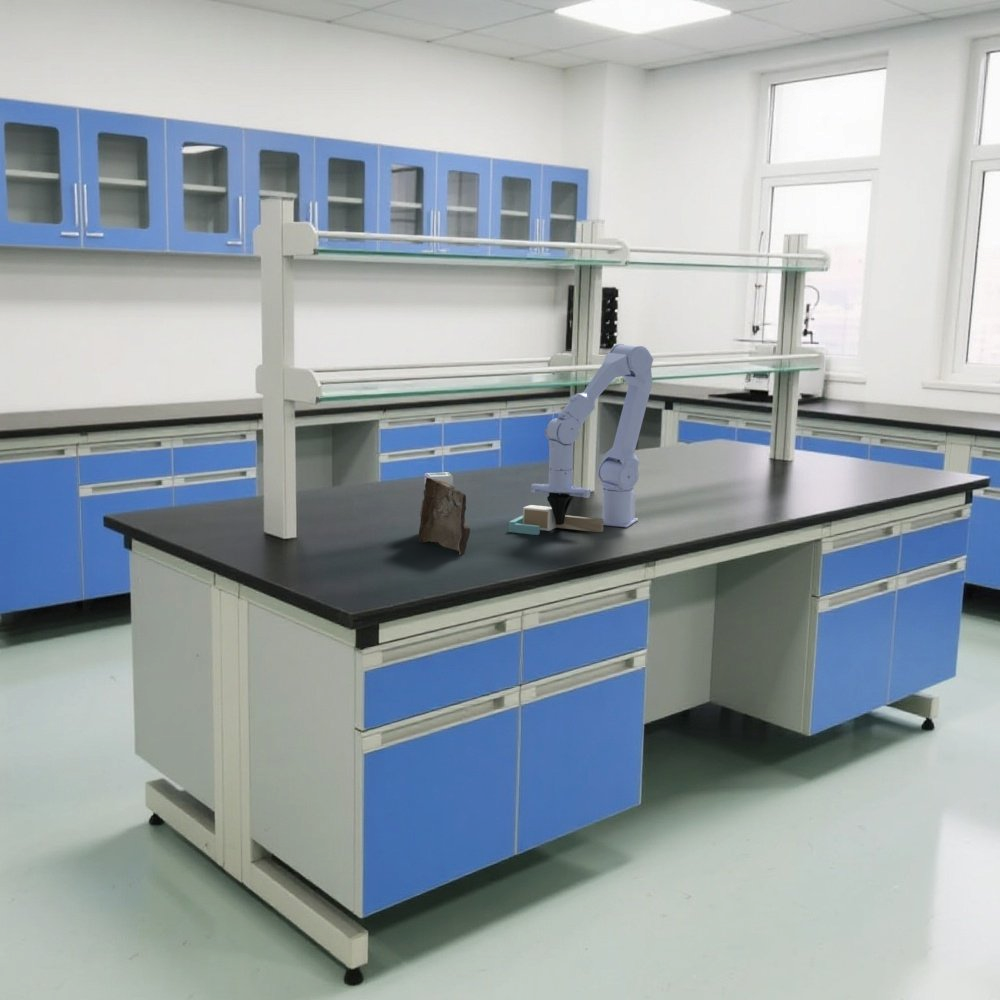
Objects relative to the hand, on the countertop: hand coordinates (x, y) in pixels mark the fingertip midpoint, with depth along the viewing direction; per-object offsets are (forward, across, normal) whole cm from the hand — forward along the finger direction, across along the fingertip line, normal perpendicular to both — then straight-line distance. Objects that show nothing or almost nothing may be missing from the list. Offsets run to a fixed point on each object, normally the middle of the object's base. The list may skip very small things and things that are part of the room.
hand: (559, 524), depth 267 cm
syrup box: (+2, -24, -17) cm, 29 cm away
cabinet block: (+1, -5, 0) cm, 5 cm away
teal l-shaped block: (+1, -6, -3) cm, 7 cm away
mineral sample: (+2, -16, -29) cm, 33 cm away
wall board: (+1, 0, +3) cm, 3 cm away
